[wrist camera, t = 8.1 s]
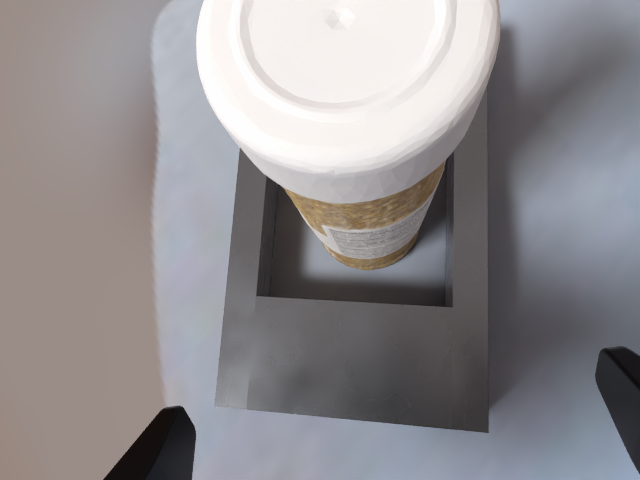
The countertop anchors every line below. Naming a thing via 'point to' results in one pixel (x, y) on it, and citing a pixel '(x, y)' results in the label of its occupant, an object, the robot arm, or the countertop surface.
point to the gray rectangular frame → (362, 321)
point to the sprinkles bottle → (350, 105)
